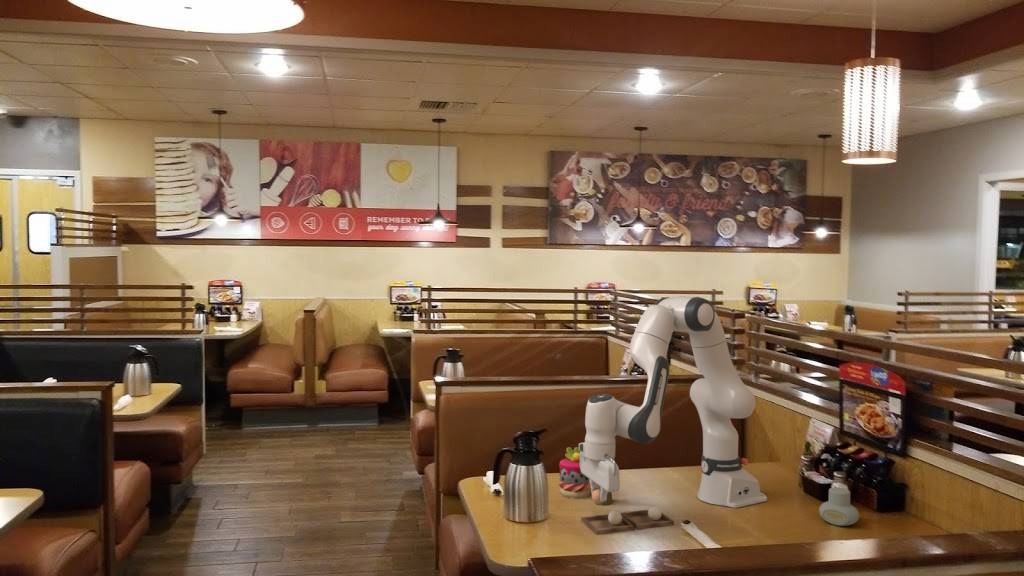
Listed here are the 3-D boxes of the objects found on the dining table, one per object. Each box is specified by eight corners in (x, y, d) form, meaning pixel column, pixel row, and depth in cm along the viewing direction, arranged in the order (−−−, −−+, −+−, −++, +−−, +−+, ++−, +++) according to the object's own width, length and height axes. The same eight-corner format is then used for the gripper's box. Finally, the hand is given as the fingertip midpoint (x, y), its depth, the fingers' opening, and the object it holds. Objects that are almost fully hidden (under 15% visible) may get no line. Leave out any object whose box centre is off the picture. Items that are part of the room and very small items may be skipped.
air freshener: (815, 522, 218) (816, 489, 217) (823, 514, 224) (824, 482, 224) (854, 531, 211) (855, 497, 210) (861, 523, 217) (862, 490, 217)
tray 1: (617, 518, 219) (617, 512, 219) (634, 532, 209) (634, 525, 209) (580, 522, 216) (580, 517, 216) (596, 536, 205) (596, 530, 205)
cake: (596, 495, 241) (597, 450, 240) (572, 501, 235) (572, 455, 234) (576, 487, 249) (577, 444, 249) (552, 492, 243) (552, 448, 243)
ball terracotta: (601, 500, 214) (602, 487, 213) (607, 504, 210) (608, 491, 210) (589, 501, 212) (589, 488, 212) (595, 506, 209) (595, 492, 208)
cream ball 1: (618, 521, 215) (618, 508, 215) (624, 526, 212) (624, 512, 212) (605, 522, 214) (605, 509, 214) (611, 527, 210) (611, 514, 210)
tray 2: (655, 514, 223) (655, 508, 223) (674, 527, 213) (674, 521, 213) (620, 518, 220) (620, 512, 220) (637, 531, 209) (637, 525, 209)
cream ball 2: (657, 516, 219) (657, 503, 219) (663, 521, 216) (664, 508, 216) (645, 518, 218) (645, 505, 218) (651, 522, 214) (652, 509, 214)
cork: (612, 508, 229) (612, 473, 228) (593, 506, 230) (593, 472, 229) (613, 501, 234) (614, 468, 234) (594, 500, 236) (595, 467, 235)
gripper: (625, 459, 202) (624, 508, 202) (595, 441, 221) (594, 486, 222) (605, 460, 200) (604, 510, 200) (576, 442, 219) (575, 487, 220)
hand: (598, 497), depth 211 cm, fingers closed on ball terracotta, 4 cm apart
